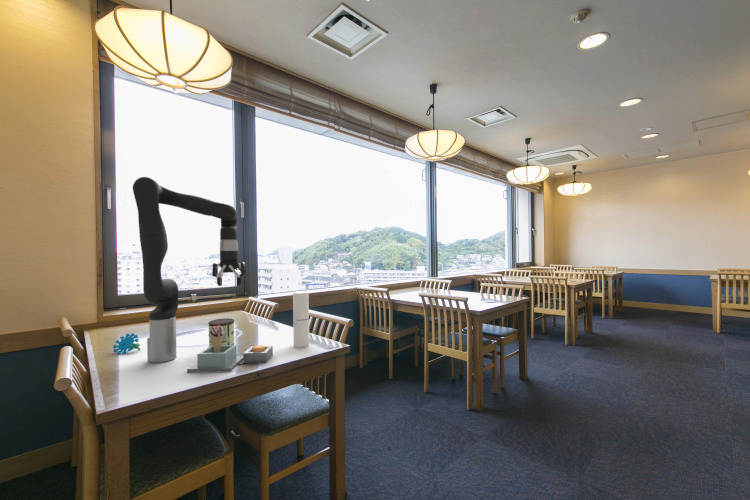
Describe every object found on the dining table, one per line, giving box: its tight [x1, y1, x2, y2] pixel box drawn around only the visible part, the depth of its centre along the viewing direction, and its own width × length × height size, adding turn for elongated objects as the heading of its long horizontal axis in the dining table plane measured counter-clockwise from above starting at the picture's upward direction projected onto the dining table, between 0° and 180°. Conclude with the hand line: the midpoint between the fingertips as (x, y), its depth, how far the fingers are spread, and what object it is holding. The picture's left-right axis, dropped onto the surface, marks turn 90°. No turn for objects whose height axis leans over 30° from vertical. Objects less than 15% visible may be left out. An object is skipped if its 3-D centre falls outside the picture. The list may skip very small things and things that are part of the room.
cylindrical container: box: [292, 290, 310, 349], centre depth 151 cm, size 7×7×25 cm
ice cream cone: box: [208, 324, 225, 353], centre depth 127 cm, size 6×6×15 cm
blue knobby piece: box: [112, 332, 142, 355], centre depth 145 cm, size 11×6×10 cm
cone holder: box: [186, 344, 244, 373], centre depth 127 cm, size 16×14×6 cm
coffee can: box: [207, 318, 235, 347], centre depth 141 cm, size 10×10×14 cm
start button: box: [252, 344, 266, 352], centre depth 133 cm, size 5×5×3 cm
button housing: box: [242, 345, 274, 364], centre depth 133 cm, size 9×9×4 cm
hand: (229, 285), depth 145 cm, fingers open, 8 cm apart
